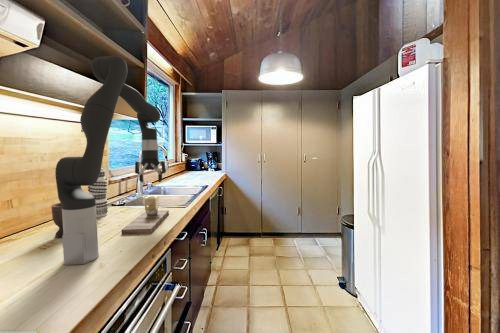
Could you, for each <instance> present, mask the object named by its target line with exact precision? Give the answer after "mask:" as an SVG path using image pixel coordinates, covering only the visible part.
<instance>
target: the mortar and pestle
mask: <svg viewBox="0 0 500 333" xmlns="http://www.w3.org/2000/svg"><path fill="white" fill-rule="evenodd" d="M50 207H51V214H52V215H51V216H52V221H53V223H54V224H55V226H57V227H58V230H57V231H56V233H55V235H54V236H55V238H57V239H58V238H60V239H62V236H63V235H64V234H63V218H62V205H61V202H59V203H53V204H52V205H51V206H50Z"/></svg>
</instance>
